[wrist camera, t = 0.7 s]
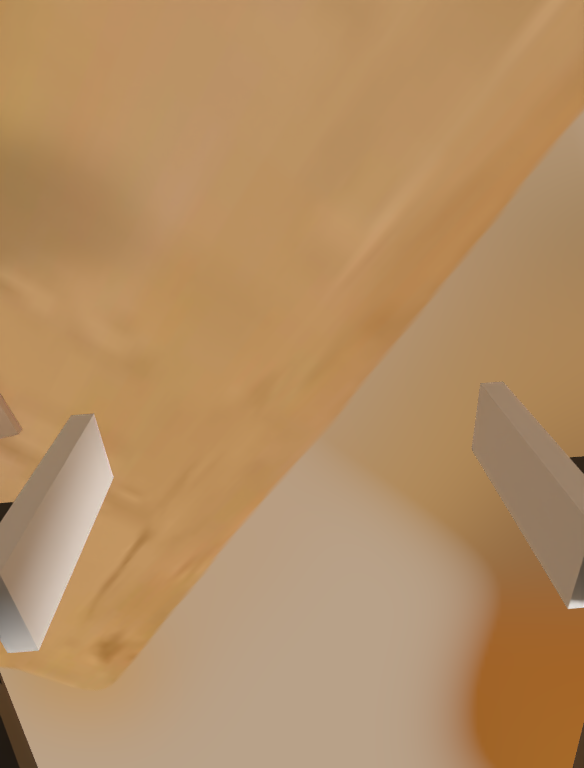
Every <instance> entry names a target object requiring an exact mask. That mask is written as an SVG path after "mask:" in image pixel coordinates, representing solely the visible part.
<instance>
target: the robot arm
mask: <svg viewBox="0 0 584 768" xmlns="http://www.w3.org/2000/svg"><path fill="white" fill-rule="evenodd" d="M472 451H473V453H474V454H475V456H476V457H477V459H478V461H479V462H480V464H481V466H482V467H483V469H484V471H485V472H486V474H487V476H488V477H489V479H490V481H491V482H492V484H493V485H494V487H495V489H496V491H497V492H498V494H499V496H500V497H501V499H502V501H503V502H504V504H505V506H506V507H507V509H508V511H509V512H510V514H511V515H512V517H513V519H514V520H515V522H516V524H517V525H518V527H519V529H520V530H521V532H522V534H523V535H524V537H525V539H526V540H527V542H528V543H529V545H530V547H531V548H532V550H533V552H534V553H535V555H536V557H537V559H538V560H539V562H540V564H541V565H542V567H543V568H544V570H545V572H546V573H547V575H548V577H549V578H550V580H551V582H552V583H553V585H554V587H555V588H556V590H557V592H558V593H559V595H560V597H561V598H562V600H563V602H564V603H565V605H566V607H567V608H568V609H571V608H584V456H583V457H570V458H569V457H568V456H567V455H566V453H565V452H564V451H563V450H562V449H561V448H560V446H559V445H558V444H557V443H556V442H555V441H554V440H553V439H552V437H551V436H550V435H549V434H548V433H547V432H546V430H545V429H544V428H543V427H542V426H541V425H540V424H539V422H537V420H536V419H535V418H534V417H533V416H532V415H531V413H530V412H529V411H528V410H527V409H526V408H525V406H524V405H523V404H522V403H521V402H520V401H519V400H518V399H517V397H516V396H515V395H514V394H513V393H512V392H511V390H510V389H509V388H508V387H507V386H506V385H505V384H504V382H493V383H481V384H480V390H479V398H478V406H477V414H476V421H475V428H474V436H473V444H472ZM112 480H113V474H112V471H111V468H110V465H109V461H108V458H107V455H106V452H105V448H104V445H103V442H102V438H101V435H100V432H99V429H98V425H97V422H96V419H95V416H94V414H83V415H71V417H70V418H69V420H68V421H67V423H66V424H65V426H64V427H63V429H62V430H61V432H60V433H59V435H58V436H57V438H56V439H55V441H54V442H53V444H52V445H51V447H50V448H49V450H48V451H47V453H46V454H45V456H44V457H43V459H42V460H41V462H40V463H39V465H38V466H37V468H36V469H35V471H34V472H33V474H32V475H31V477H30V478H29V480H28V481H27V483H26V484H25V486H24V487H23V489H22V490H21V492H20V493H19V495H18V496H17V498H16V500H15V501H14V502H10V503H0V640H1V642H2V644H3V645H4V647H5V649H6V651H7V653H14V652H26V651H39V649H40V646H41V644H42V642H43V639H44V637H45V635H46V632H47V630H48V628H49V625H50V623H51V621H52V618H53V616H54V614H55V612H56V609H57V607H58V605H59V602H60V600H61V598H62V595H63V593H64V591H65V588H66V586H67V584H68V581H69V579H70V577H71V575H72V572H73V570H74V568H75V565H76V563H77V561H78V558H79V556H80V554H81V551H82V549H83V547H84V545H85V542H86V540H87V538H88V535H89V533H90V531H91V528H92V526H93V524H94V521H95V519H96V517H97V514H98V512H99V510H100V508H101V505H102V503H103V501H104V498H105V496H106V494H107V491H108V489H109V487H110V484H111V482H112ZM0 768H38V767H37V764H36V762H35V759H34V757H33V754H32V752H31V749H30V747H29V744H28V741H27V739H26V737H25V734H24V731H23V729H22V726H21V724H20V721H19V719H18V716H17V714H16V711H15V709H14V706H13V704H12V701H11V699H10V696H9V693H8V691H7V688H6V686H5V683H4V681H3V679H2V676H1V673H0ZM573 768H584V725H583V728H582V733H581V736H580V741H579V744H578V749H577V752H576V757H575V760H574V764H573Z"/></svg>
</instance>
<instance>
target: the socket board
mask: <svg viewBox="0 0 584 768" xmlns="http://www.w3.org/2000/svg"><path fill="white" fill-rule="evenodd" d="M21 431H22V428H21V426H20V425H19V423H18V422H17V420H16V418H15V417H14V415H13V413H12V412H11V410H10V409H9V407H8V405H7V404H6V402H5V401H4V399H3V397H2V396H1V394H0V439H1V438H5V437H9V436H13V435H17V434H19V433H20V432H21Z"/></svg>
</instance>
